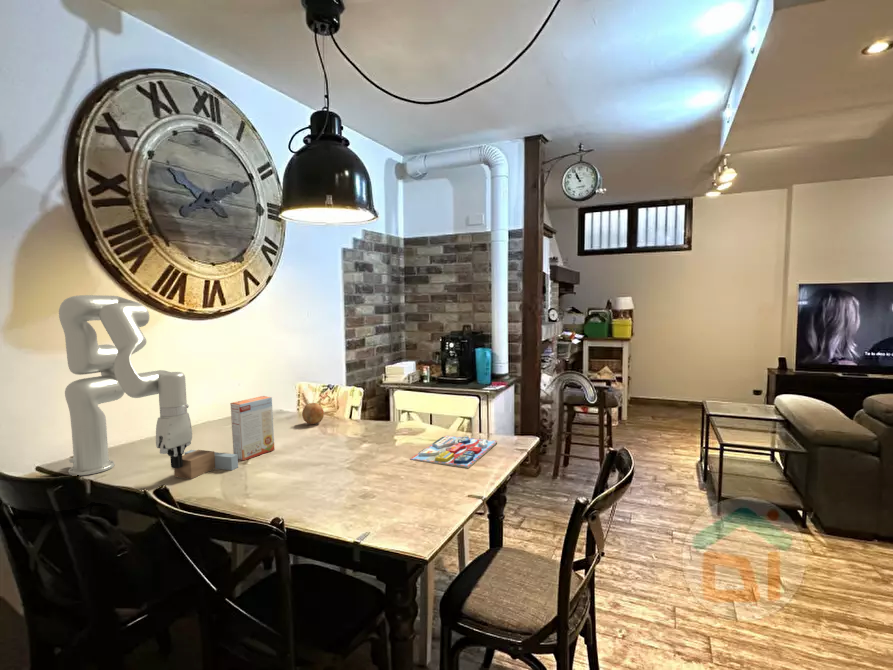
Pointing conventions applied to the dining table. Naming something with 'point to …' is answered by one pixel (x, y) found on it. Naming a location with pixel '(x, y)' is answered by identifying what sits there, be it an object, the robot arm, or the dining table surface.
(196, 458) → the walnut block
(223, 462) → the batten
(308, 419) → the onion
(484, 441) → the puzzle board
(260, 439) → the cracker box
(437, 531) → the dining table surface
